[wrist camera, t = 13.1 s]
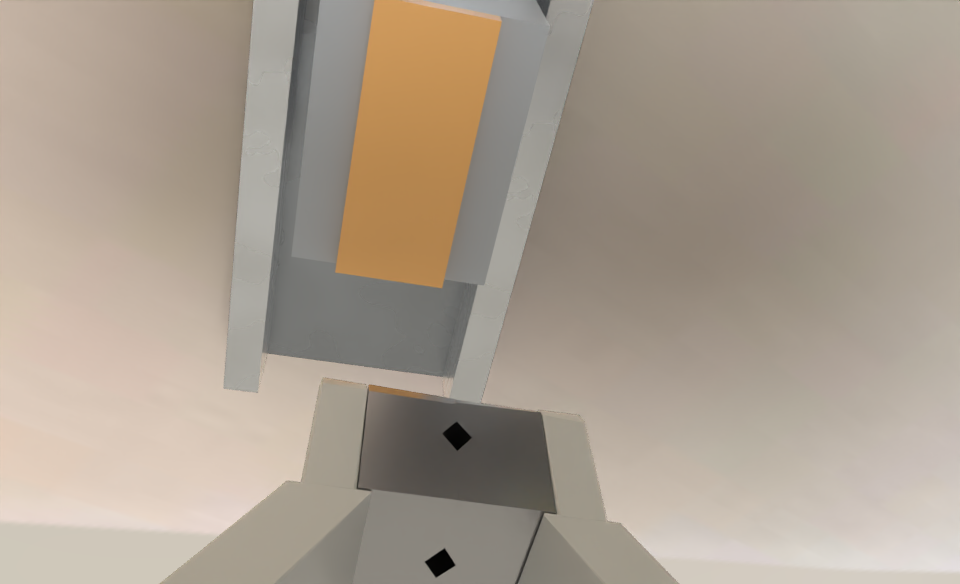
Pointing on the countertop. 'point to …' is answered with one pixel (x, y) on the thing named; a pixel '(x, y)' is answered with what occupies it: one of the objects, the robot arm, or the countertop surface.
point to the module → (414, 134)
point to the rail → (314, 284)
